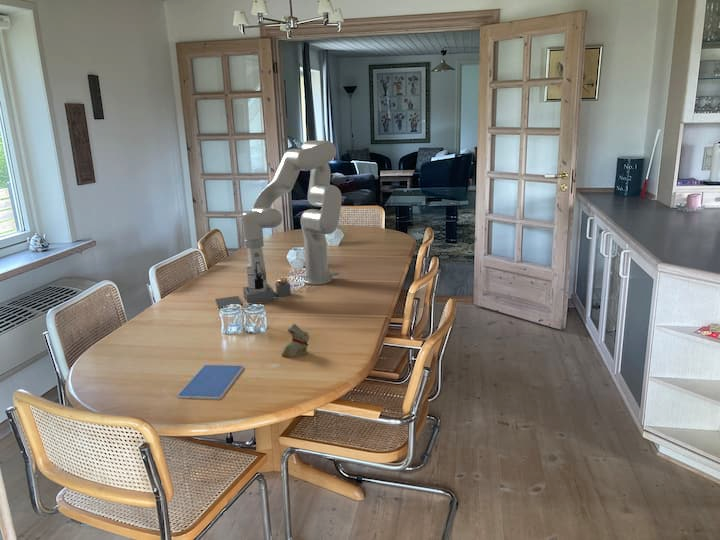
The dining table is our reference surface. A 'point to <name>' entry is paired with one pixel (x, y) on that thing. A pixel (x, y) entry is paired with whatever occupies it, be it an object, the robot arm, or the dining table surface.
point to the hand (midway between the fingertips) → (257, 285)
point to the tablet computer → (211, 382)
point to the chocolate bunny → (296, 343)
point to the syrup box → (252, 282)
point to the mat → (228, 301)
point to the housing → (267, 293)
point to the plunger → (282, 280)
